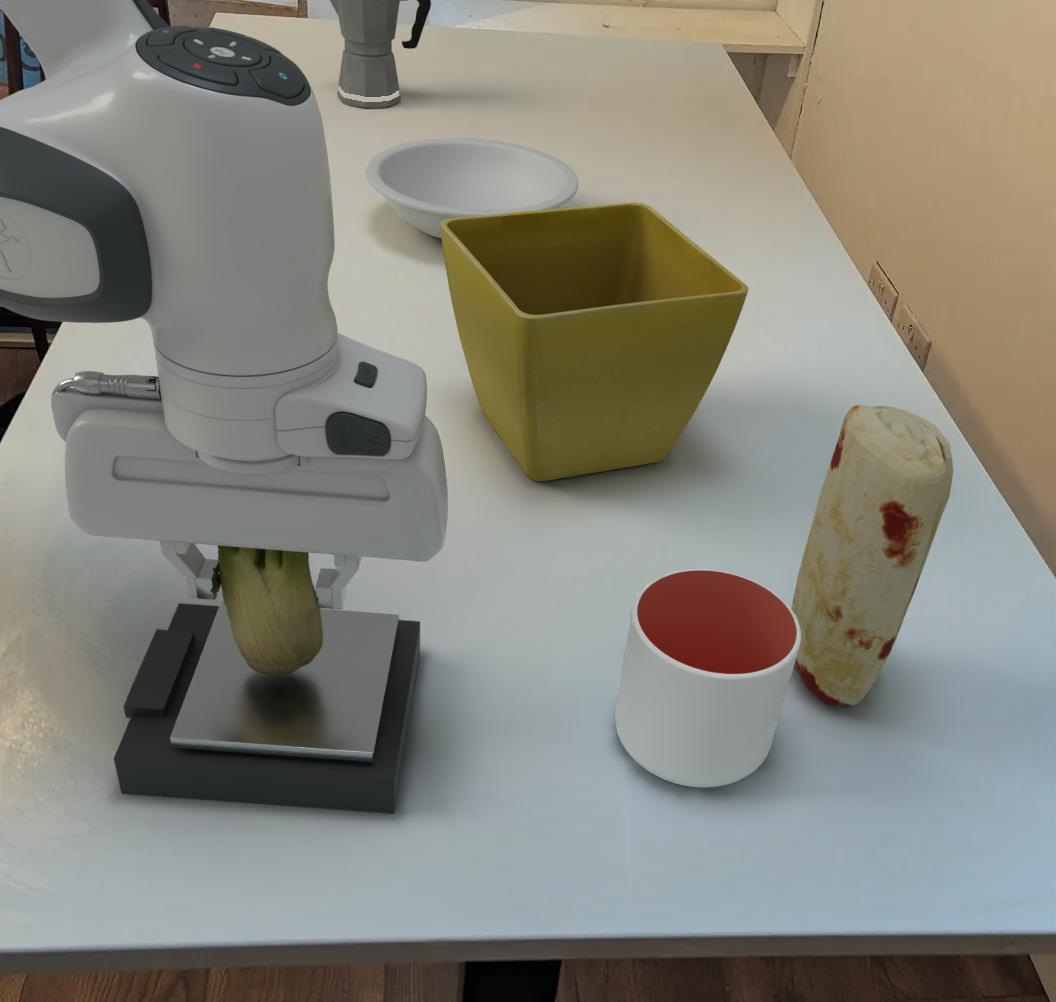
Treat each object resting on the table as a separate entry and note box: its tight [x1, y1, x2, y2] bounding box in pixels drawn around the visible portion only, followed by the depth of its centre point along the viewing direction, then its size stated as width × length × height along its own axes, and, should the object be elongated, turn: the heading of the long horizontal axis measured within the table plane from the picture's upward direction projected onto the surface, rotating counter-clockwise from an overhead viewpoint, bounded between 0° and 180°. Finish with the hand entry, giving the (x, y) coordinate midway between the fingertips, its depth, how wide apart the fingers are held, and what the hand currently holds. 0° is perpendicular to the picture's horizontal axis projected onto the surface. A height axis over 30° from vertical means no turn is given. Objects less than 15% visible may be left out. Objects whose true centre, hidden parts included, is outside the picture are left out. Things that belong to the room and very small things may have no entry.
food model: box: [791, 403, 954, 707], centre depth 75 cm, size 10×7×20 cm
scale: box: [113, 602, 421, 814], centre depth 73 cm, size 16×14×4 cm
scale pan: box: [170, 600, 400, 762], centre depth 72 cm, size 12×12×1 cm
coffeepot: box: [329, 0, 432, 110], centre depth 167 cm, size 15×9×18 cm, turn 88°
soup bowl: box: [365, 137, 579, 240], centre depth 135 cm, size 24×24×7 cm
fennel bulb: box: [217, 545, 323, 676], centre depth 67 cm, size 6×5×12 cm
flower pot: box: [440, 202, 749, 482], centre depth 98 cm, size 19×19×17 cm
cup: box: [614, 568, 801, 788], centre depth 73 cm, size 10×10×10 cm
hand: (269, 597), depth 68 cm, fingers closed on fennel bulb, 6 cm apart
